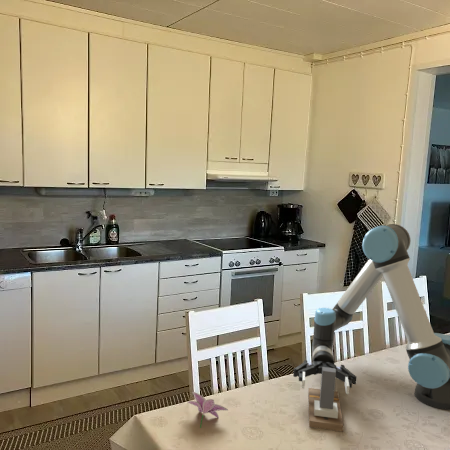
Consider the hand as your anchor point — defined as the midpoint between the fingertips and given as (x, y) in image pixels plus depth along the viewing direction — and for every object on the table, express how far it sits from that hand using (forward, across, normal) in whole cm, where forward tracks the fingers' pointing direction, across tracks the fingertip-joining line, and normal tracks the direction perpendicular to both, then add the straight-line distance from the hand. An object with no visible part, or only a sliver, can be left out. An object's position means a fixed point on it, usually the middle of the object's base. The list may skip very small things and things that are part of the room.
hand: (325, 387), depth 145 cm
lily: (+11, +36, -11) cm, 39 cm away
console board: (-5, -1, -10) cm, 12 cm away
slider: (0, -1, -8) cm, 8 cm away
